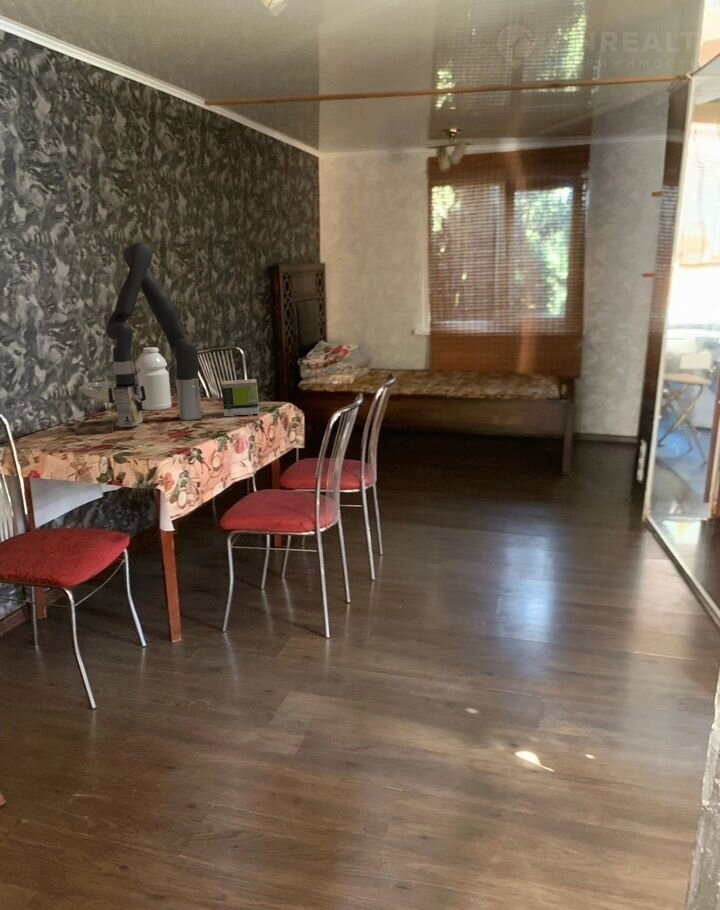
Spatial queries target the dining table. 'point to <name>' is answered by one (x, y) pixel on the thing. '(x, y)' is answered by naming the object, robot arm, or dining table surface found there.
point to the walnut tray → (95, 427)
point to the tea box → (240, 397)
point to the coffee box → (127, 406)
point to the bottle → (154, 380)
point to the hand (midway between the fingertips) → (129, 411)
